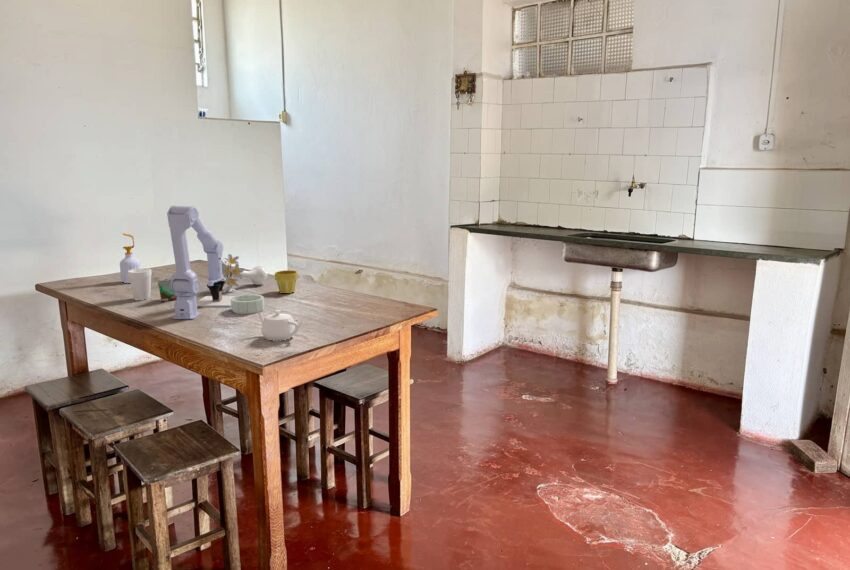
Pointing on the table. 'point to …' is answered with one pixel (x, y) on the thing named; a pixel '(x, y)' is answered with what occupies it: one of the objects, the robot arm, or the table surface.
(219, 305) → the cover sheet
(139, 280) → the foam cup
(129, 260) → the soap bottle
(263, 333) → the teapot
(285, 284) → the plant pot
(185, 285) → the robot arm
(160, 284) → the food container
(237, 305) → the bowl
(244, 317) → the table surface
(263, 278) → the flower vase
